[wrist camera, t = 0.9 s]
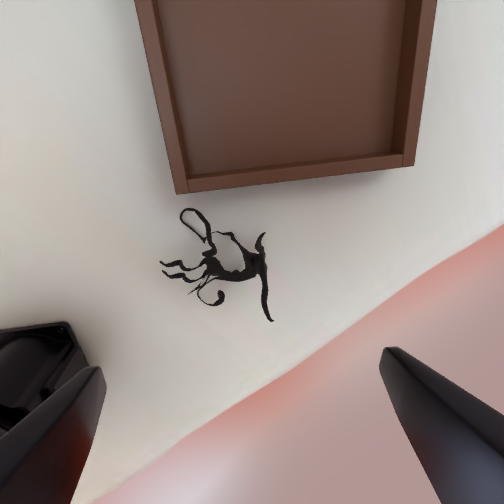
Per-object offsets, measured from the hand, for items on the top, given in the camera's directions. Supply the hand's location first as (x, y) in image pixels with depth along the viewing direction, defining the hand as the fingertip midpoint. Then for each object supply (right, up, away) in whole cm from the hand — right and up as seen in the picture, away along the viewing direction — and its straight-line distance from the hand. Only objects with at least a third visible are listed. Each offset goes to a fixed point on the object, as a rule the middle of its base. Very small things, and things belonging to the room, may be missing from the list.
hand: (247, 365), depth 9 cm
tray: (+2, +15, +7) cm, 17 cm away
